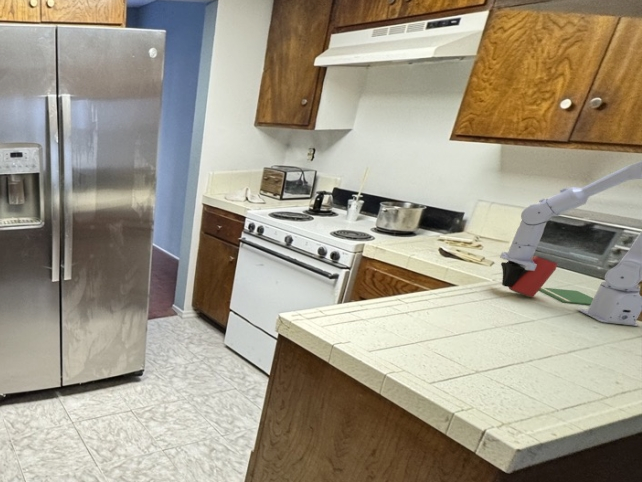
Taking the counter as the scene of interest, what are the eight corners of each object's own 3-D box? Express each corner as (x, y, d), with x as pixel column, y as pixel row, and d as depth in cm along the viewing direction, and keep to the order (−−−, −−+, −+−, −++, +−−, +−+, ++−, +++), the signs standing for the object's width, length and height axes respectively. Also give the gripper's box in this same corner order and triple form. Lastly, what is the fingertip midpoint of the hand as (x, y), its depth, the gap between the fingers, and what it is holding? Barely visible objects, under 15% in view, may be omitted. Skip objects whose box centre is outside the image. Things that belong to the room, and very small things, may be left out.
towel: (608, 307, 139) (609, 305, 139) (563, 302, 142) (564, 300, 142) (576, 292, 152) (577, 290, 151) (535, 288, 154) (535, 286, 154)
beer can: (521, 292, 150) (548, 258, 145) (538, 300, 144) (566, 265, 139) (502, 286, 150) (528, 251, 145) (517, 293, 144) (545, 258, 139)
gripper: (496, 237, 150) (480, 277, 155) (522, 248, 137) (504, 291, 142) (522, 239, 148) (505, 280, 153) (552, 250, 135) (532, 294, 140)
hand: (507, 286), depth 147 cm, fingers closed, pressing on beer can
